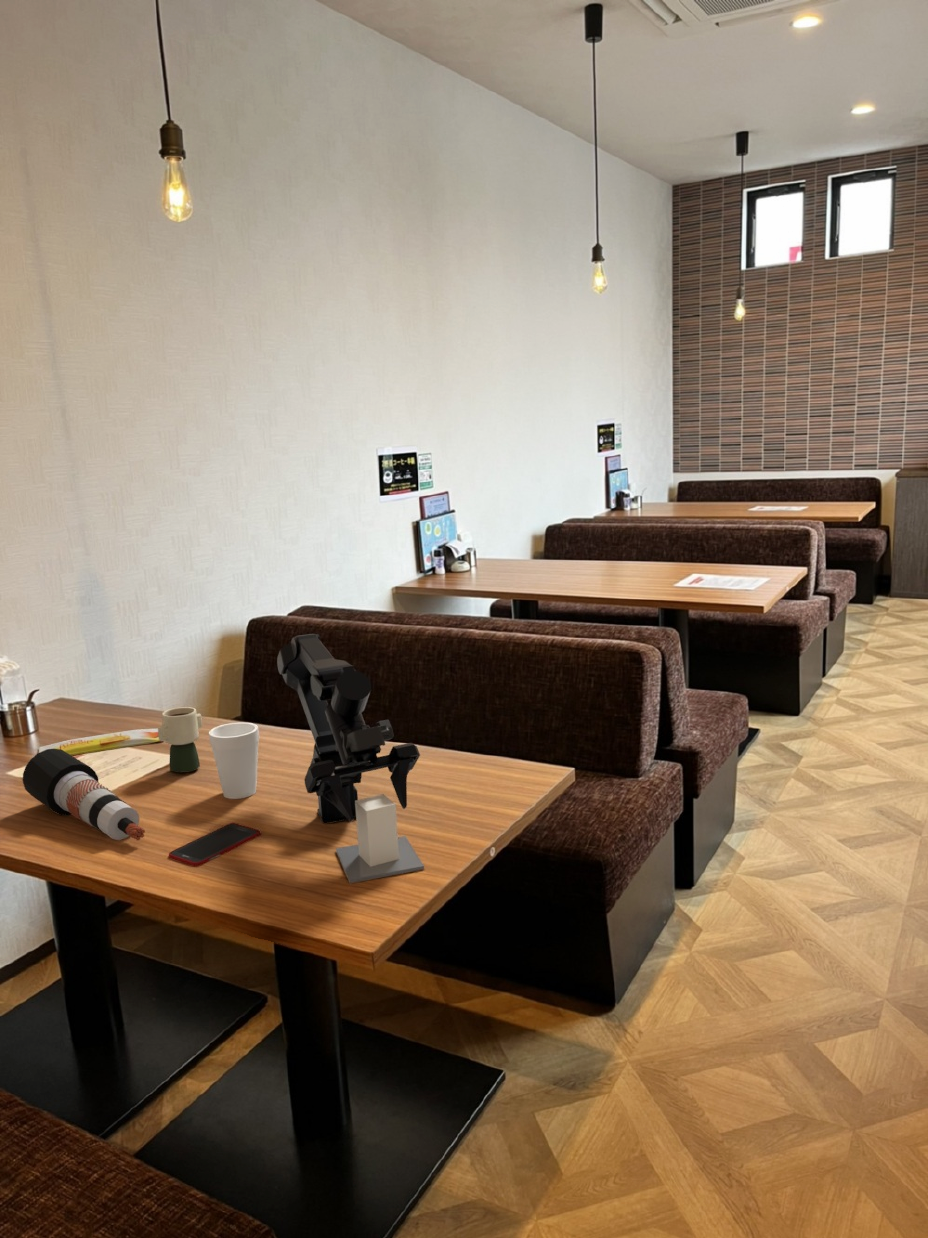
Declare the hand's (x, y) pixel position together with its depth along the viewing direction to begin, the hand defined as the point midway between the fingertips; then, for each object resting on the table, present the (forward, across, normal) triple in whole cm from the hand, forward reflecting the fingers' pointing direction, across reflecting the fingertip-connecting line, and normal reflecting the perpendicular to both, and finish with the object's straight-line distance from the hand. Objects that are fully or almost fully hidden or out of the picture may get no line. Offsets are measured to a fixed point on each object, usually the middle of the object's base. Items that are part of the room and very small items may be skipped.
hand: (378, 814), depth 150 cm
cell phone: (-9, -22, +22) cm, 33 cm away
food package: (-58, -32, +72) cm, 98 cm away
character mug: (-39, -18, +51) cm, 67 cm away
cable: (-26, -39, +38) cm, 61 cm away
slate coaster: (+5, 0, +7) cm, 9 cm away
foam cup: (-25, -12, +37) cm, 47 cm away
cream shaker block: (+5, 0, +7) cm, 8 cm away
